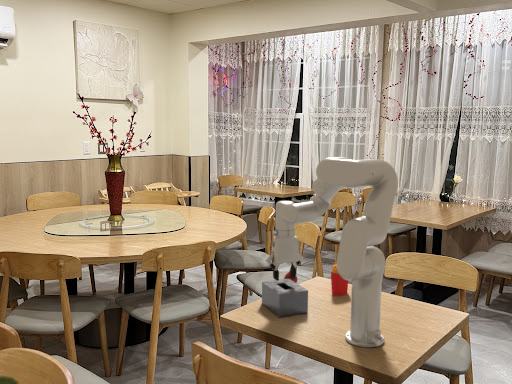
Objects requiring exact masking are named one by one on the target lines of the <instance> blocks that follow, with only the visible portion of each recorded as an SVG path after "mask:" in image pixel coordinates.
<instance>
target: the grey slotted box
mask: <svg viewBox="0 0 512 384" xmlns="http://www.w3.org/2000/svg"><path fill="white" fill-rule="evenodd" d="M261 305H262V306H264V307H265V308H266V309H268V310H269V311H270V312H271V313H272V314H273V315H275V316H276V317H277V318H279V319H280V318H287V317H293V316H299V315H306V314H309V313H308V312H309V310H308V308H309V290H308V289H307V288H304V286H301V285H300V284H298V282H297V283H295V282H294V281H292V280H290V279H284V278H283V279H279V280H278V281H277V280H275V279H274V280H268V281H262V282H261Z"/></svg>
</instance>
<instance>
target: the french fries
mask: <svg viewBox="0 0 512 384" xmlns="http://www.w3.org/2000/svg"><path fill="white" fill-rule="evenodd" d="M331 269H332V270H331V272H330V282H331V295H332V296H336V297H337V296H338V297H339V296H344V295H347V294H348V290H349V281H348V280H345V279H343V278H342V277H341V276H340V275H339V273H338V270H337V263H335V264H333V265H332V266H331Z"/></svg>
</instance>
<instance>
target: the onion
mask: <svg viewBox="0 0 512 384" xmlns="http://www.w3.org/2000/svg"><path fill="white" fill-rule="evenodd" d="M283 279H290V280H292V281H294V282H295V283H297V284H298V276H297V275H296V276H295V279H294V278H292V277H290V269H289V271H288V272H287V273H286V274H285V275H284V277H283Z"/></svg>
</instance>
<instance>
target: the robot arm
mask: <svg viewBox="0 0 512 384" xmlns="http://www.w3.org/2000/svg"><path fill="white" fill-rule="evenodd" d="M315 175H316V178H315V180H314V181H313V182H312V191H313V192H314V194H315V195H314V197H313V198H312V199H311V200H309V201H304V202H303V201H302V202H296V203H295V202H294V201H291V200H278V201H277V202H276V203H275V224H274V225H275V226H274V227H275V229H274V230H273V231H272V233H271V234H272V235H273V240H272V243H271V244H272V246H271V254H270V255H269V256H268V257H267V258H266V259H265V262H266V264H267V265H268V266H269V267H270V268H271V269H272V277H273V279H274V280H277V281H278V280H280V271H279V270H278V269H279V267H280V266H281V265H286V264H290V265H291V266H290V268H289V270H290V277H292V278H294V279H295V276H297V269H298V267H299V266H300V264H301V262H302V261H303V260H304V256H303V255H302V254H301V253H300V247H299V241H298V240H299V239H298V236H297V235H296V225H299V224H304V223H309V222H314V221H317V220H318V219H320V218H321V217H322V216H323V215H324V214H325V213H326V212H327V211H329V209H330V207H331V204H332V203H333V198H334V197H335V196H336V194H338V192H339V191H341V190H342V189H343V188H344V187H345V188H346V187H347V188H363V187H371V190H370V192H369V193H368V195H367V198H366V199H365V202H364V209H363V213H362V215H361V216H360V217H355V218H352V219H350V220H348V221H347V222H346V223H345V224H344V226H343V228H342V232H341V236H340V242H339V245H338V251H337V256H336V264H337V270H338V273H339V275H340V276H341V277H342V278H343V279H345V280H348V282H352V283H351V295H350V296H351V297H350V299H351V300H350V326H349V327H350V328H349V329H350V330H348V331H347V332H346V333H345V335H344V336H345V341H347V342H348V343H349V344H351V345H353V346H355V347H362V348H376V347H379V346H381V345H383V344H384V342H385V341H386V339H385V337H384V335H383V334H382V330H381V329H380V328H381V308H382V305H381V304H382V287H383V286H382V284H383V278H384V273H385V269H386V257H385V255H384V253H383V251H382V250H381V249H380V248H379V247H377V246H376V245H379V244H382V243H383V242H384V241H385V240H386V239H387V235H388V232H389V227H390V222H391V219H392V213H393V209H394V202H395V199H396V195H397V192H398V189H399V178H398V174H397V172H396V169H394V167H393V165H392V164H390V163H389V162H387V161H386V160H384V159H381V158H380V159H379V158H370V159H369V158H367V159H366V158H365V159H356V160H355V159H351V158H349V157H346V156H332V157H331V156H330V157H325V158H322V160H320V161H319V162H318V164H317V166H316V169H315ZM272 262H273V263H272Z"/></svg>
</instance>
